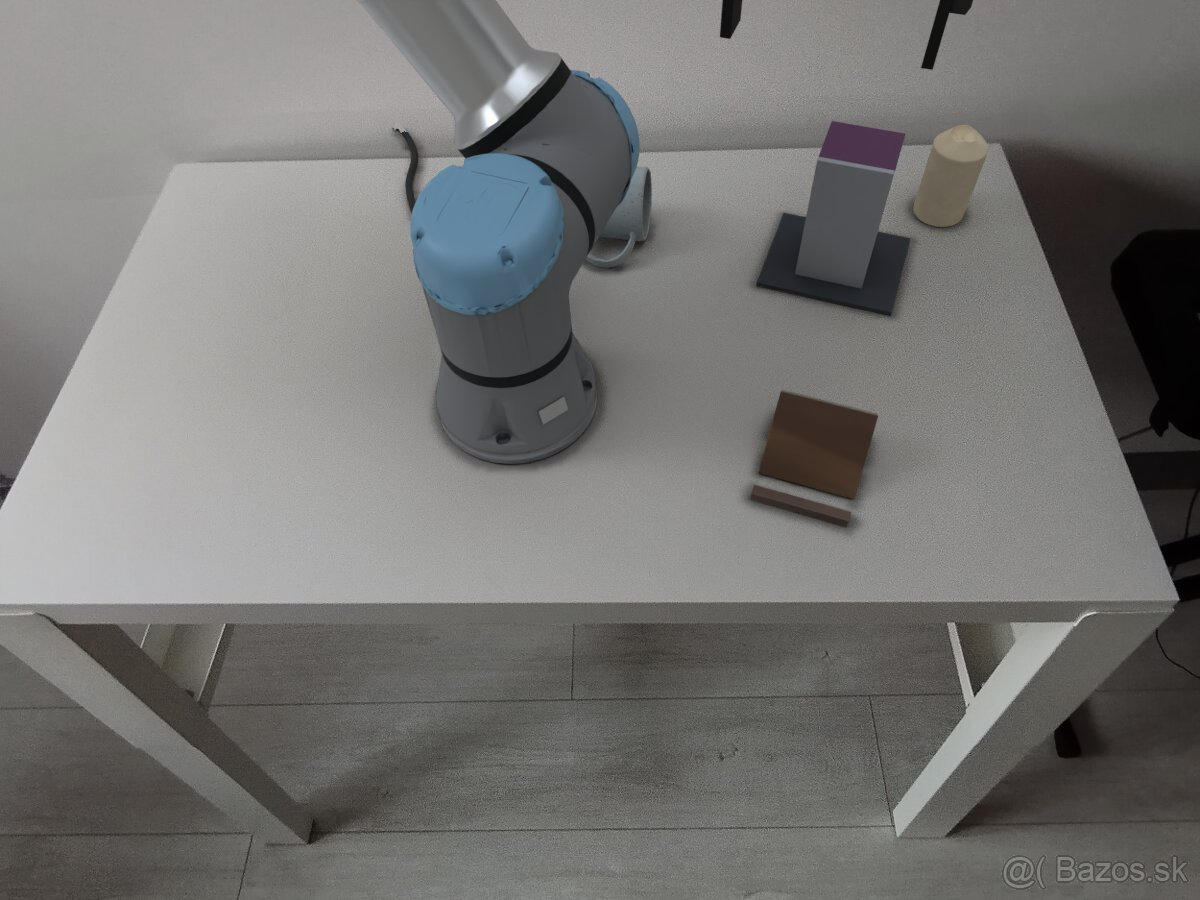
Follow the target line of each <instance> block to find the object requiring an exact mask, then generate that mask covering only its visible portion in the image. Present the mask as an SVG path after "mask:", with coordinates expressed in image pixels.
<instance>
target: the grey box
mask: <svg viewBox="0 0 1200 900" xmlns="http://www.w3.org/2000/svg"><path fill="white" fill-rule="evenodd" d="M905 138H906V133H905V132H900V131H899V132H898V131H894V130H893V131H892V130H888V129H881V128H876V127H869V126H865V125H858V124H853V123H846V122H840V121H835V120H831V122H830V125H829V127H828V130H827V133H826V136H825V138H824V140H823V143H822V146H821V149H820V152H819V154H818V157H817V160H816V163H815V168H814V169H815V170H814V174H813V179H812V185H811V190H810V195H809V200H808V205H807V210H806V216H805V217H806V220H805V225H804V230H803V235H802V241H801V246H800V251H799V256H798V261H797V266H796V271H795V274H796V275H801V276H805V277H810V278H814V279H819V280H824V281H828V282H833V283H837V284H842V285H847V286H851V287H856V288H860V289H861V288H862V286H863V282H864V278H865V275H866V271H867V268H868V264H869V261H870V257H871V254H872V250H873V247H874V243H875V240H876V236H877V233H878V232H879V229H880V225H881V222H882V218H883V214H884V211H885V208H886V205H887V201H888V198H889V194H890V190H891V188H892V187H891V186H892V183H893V180H894V177H895V174H896V169H897V165H898V163H899V159H900V155H901V152H902V149H903V145H904V141H905Z"/></svg>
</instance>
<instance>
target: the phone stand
mask: <svg viewBox="0 0 1200 900" xmlns="http://www.w3.org/2000/svg"><path fill="white" fill-rule="evenodd" d="M878 419H879V414H878V413H877V412H873V411H869V410H865V409H861V408H858V407H854V406H849V405H844V404H841V403H837V402H833V401H829V400H827V399H826V400H825V399H821V398H817V397H814V396H810V395H806V394H805V395H804V394H801V393H798V392H793V391H789V390H786V389H782V390H780V392H779V396H778V399H777V403H776V406H775V409H774V414H773V418H772V422H771V425H770V429H769V431H768V437H767V440H766V444H765V448H764V451H763V455H762V458H761V462H760V465H759V469H758V473H759V474H761V475H765V476H769V477H772V478H776V479H779V480H784V481H787V482H790V483H794V484H797V485H801V486H805V487H808V488H812V489H815V490H819V491H823V492H826V493H830V494H833V495H838V496H841V497H844V498H848V499H851V500H854V499H855V496H856V493H857V489H858V486H859V483H860V480H861V476H862V473H863V470H864V466H865V463H866V459H867V456H868V453H869V450H870V446H871V442H872V439H873V436H874V432H875V429H876V425H877V422H878ZM749 500H751V501H753V502H756V503H761V504H764V505H767V506H771V507H774V508H778V509H781V510H785V511H787V512H788V511H789V512H792V513H796V514H798V515H799V514H800V515H803V516H806V517H808V518H809V517H810V518H812V519H817V520H820V521H824V522H827V523H830V524H834V525H838V526H841V527H845V528H847V527H848V525H849V522H850V519H851V514H852V511H849V510H846V509H842V508H838V507H835V506H831V505H828V504H824V503H820V502H817V501H813V500H810V499H806V498H804V497H800V496H796V495H792V494H789V493H786V492H782V491H778V490H774V489H771V488H768V487H764V486H760V485H757V484H753V487H752V490H751V492H750V499H749Z"/></svg>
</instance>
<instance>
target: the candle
mask: <svg viewBox="0 0 1200 900" xmlns="http://www.w3.org/2000/svg"><path fill="white" fill-rule="evenodd" d="M989 149H990V148H989V145H988V143H987V141H986V140H985V138H984V136H982V135H981V134H980V133H979V132H978V131H977V130H976V129H974V128H973V126H970V125H969V124H961V125H955V126H953V127H950V128H949V129H947V130H945V131H943V132H941V133H939V134H937V135H936V136H935V137H934V140H933V143H932V145H931V149H930V152H929V155H928V157H927V160H926V161H927V162H926V165H925V167H924V170H923V173H922V177H921V180H920V184H919V187H918V190H917V192H916V195H915V199H914V203H913V208H912V210H913V214H914V215H915V217H916V218H917V219H918V220H919V221H920V222H922V223H923V224H926V225H929V226H932V227H937V228H948V227H953V226H955V225H957V224H958V223H960V222H961V221H962V219H963V218H964V215H965V213H966V211H967V209H968V206H969V203H970V200H971V198H972V195H973V192H974V190H975V187H976V186H977V185H976V184H977V182H978V180H979V177H980V175H981V172H982V169H983V166H984V163H985V162H986V158H987V156H988V153H989Z"/></svg>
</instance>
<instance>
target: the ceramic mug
mask: <svg viewBox="0 0 1200 900" xmlns="http://www.w3.org/2000/svg"><path fill="white" fill-rule="evenodd" d="M650 169H651V168H649V167H648V166H637V168H636V170H635V173H634V175H633V177H632V179H631V183H630V186H629V189H628V191H627V194H626V196H625V198H624V199H623V201H622V202H621V203H620V204H619V205H618V206H617V208H616V209H615V211H614V213H613V214H612V216H611V218H610V219H609V221H608V223H607V224H606V226H605V228H604V229H603V231H602V233H601V234H600V236H599V238H608V239H615V240H616V239H617V240H626V241H628V242H627V244H626V245H625V247H624V248H623V250H622V251H621V252H620V253H618V254H617V255H615V256H613V257H612V258H609V259H602V258H599V257H598V256H597V255H592V254H591V252H589V254H588V255H587V257H586V259H585V260H586V261H587V262H588V263H590V264H591V265H593V266H594V267H598V268H615V267H617V266H619V265H621V264H623V263H624V262H625V261H626V260H627V259H628V258H629V256H630V254H631V253H632V251H633V249H634V246H635V244H636V242H644V241H646V239H648V235H649V230H650V225H651V217H652V205H653V200H652V199H653V198H652V197H653V187H652V186H653V185H652V172H651V170H650Z"/></svg>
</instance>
